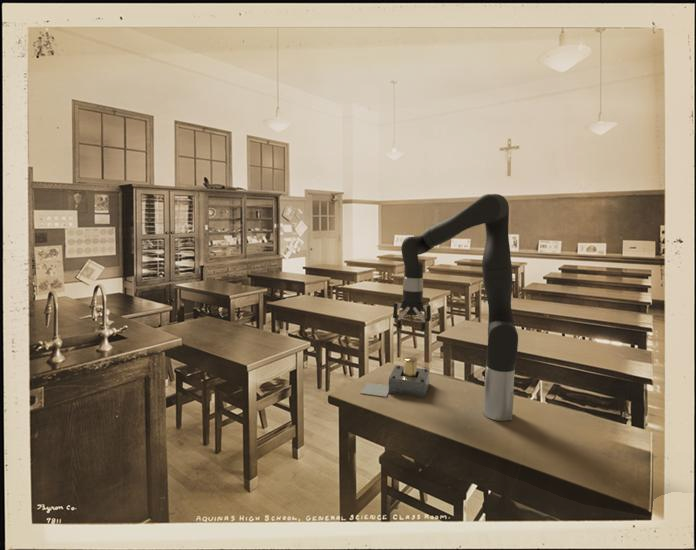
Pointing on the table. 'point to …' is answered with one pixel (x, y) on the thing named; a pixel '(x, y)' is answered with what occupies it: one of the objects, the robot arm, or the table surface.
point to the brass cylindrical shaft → (410, 367)
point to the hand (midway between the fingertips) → (411, 330)
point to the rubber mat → (375, 390)
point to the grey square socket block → (409, 382)
